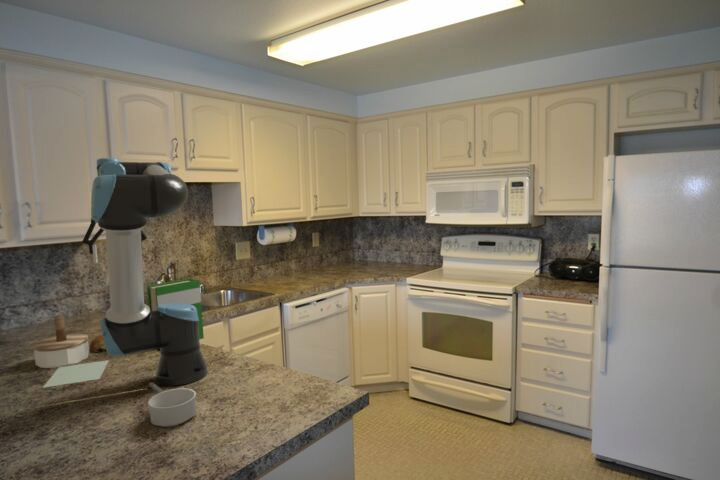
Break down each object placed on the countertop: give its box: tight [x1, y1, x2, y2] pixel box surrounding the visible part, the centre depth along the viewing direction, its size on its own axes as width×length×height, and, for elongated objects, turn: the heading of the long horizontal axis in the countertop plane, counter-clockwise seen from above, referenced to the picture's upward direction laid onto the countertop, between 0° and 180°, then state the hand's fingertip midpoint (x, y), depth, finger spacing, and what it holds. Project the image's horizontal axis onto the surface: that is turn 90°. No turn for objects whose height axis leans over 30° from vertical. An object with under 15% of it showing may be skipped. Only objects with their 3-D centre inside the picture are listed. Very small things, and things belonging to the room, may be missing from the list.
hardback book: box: [146, 278, 204, 340], centre depth 175 cm, size 18×7×24 cm, turn 141°
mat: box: [42, 359, 109, 388], centre depth 145 cm, size 18×15×1 cm
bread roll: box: [89, 333, 107, 353], centre depth 171 cm, size 10×10×8 cm
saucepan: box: [147, 382, 197, 428], centre depth 116 cm, size 12×20×6 cm, turn 46°
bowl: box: [33, 340, 90, 369], centre depth 158 cm, size 15×15×6 cm
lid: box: [33, 314, 89, 352], centre depth 157 cm, size 16×16×10 cm
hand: (117, 261), depth 160 cm, fingers open, 13 cm apart
